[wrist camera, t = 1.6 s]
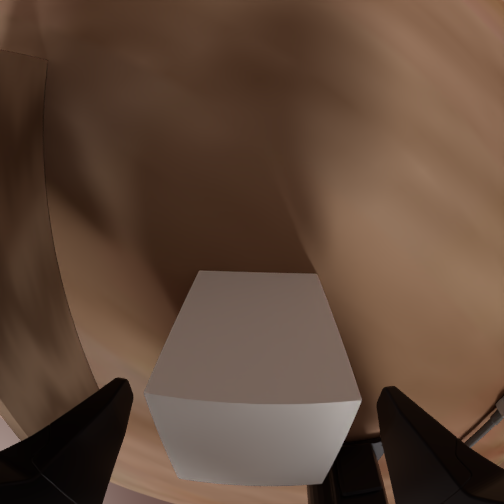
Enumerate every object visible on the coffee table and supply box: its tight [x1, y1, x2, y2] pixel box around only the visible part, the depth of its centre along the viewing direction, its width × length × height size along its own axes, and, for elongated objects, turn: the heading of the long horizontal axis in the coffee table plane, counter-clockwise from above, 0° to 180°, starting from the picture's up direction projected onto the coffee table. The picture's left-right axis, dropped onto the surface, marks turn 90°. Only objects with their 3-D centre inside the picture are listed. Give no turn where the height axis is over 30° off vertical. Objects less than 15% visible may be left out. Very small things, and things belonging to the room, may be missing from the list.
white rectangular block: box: [144, 270, 362, 486], centre depth 10 cm, size 5×5×7 cm
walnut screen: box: [0, 50, 99, 441], centre depth 9 cm, size 22×2×7 cm, turn 179°
